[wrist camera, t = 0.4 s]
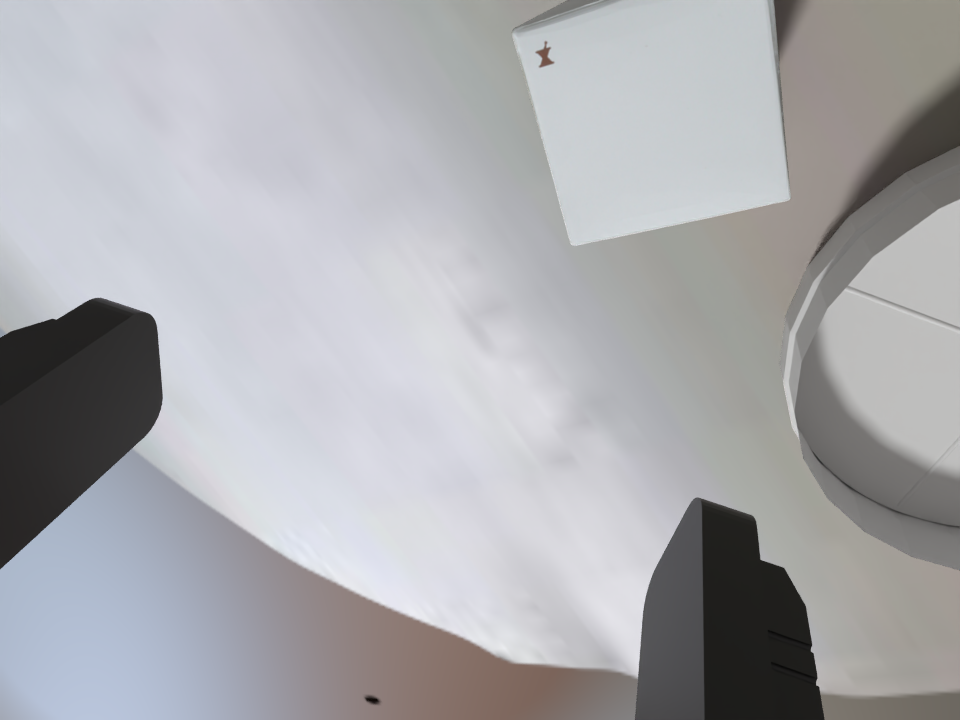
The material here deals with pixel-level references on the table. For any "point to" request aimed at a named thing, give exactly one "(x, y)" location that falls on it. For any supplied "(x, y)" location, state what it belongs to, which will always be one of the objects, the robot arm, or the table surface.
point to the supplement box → (656, 110)
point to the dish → (885, 364)
